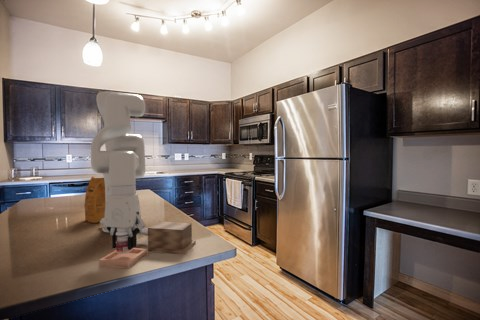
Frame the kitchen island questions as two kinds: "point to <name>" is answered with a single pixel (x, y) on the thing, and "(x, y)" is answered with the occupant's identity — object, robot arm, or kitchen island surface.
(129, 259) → the tray
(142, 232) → the shaft
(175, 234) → the block
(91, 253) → the kitchen island surface
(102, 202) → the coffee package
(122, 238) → the pill bottle
